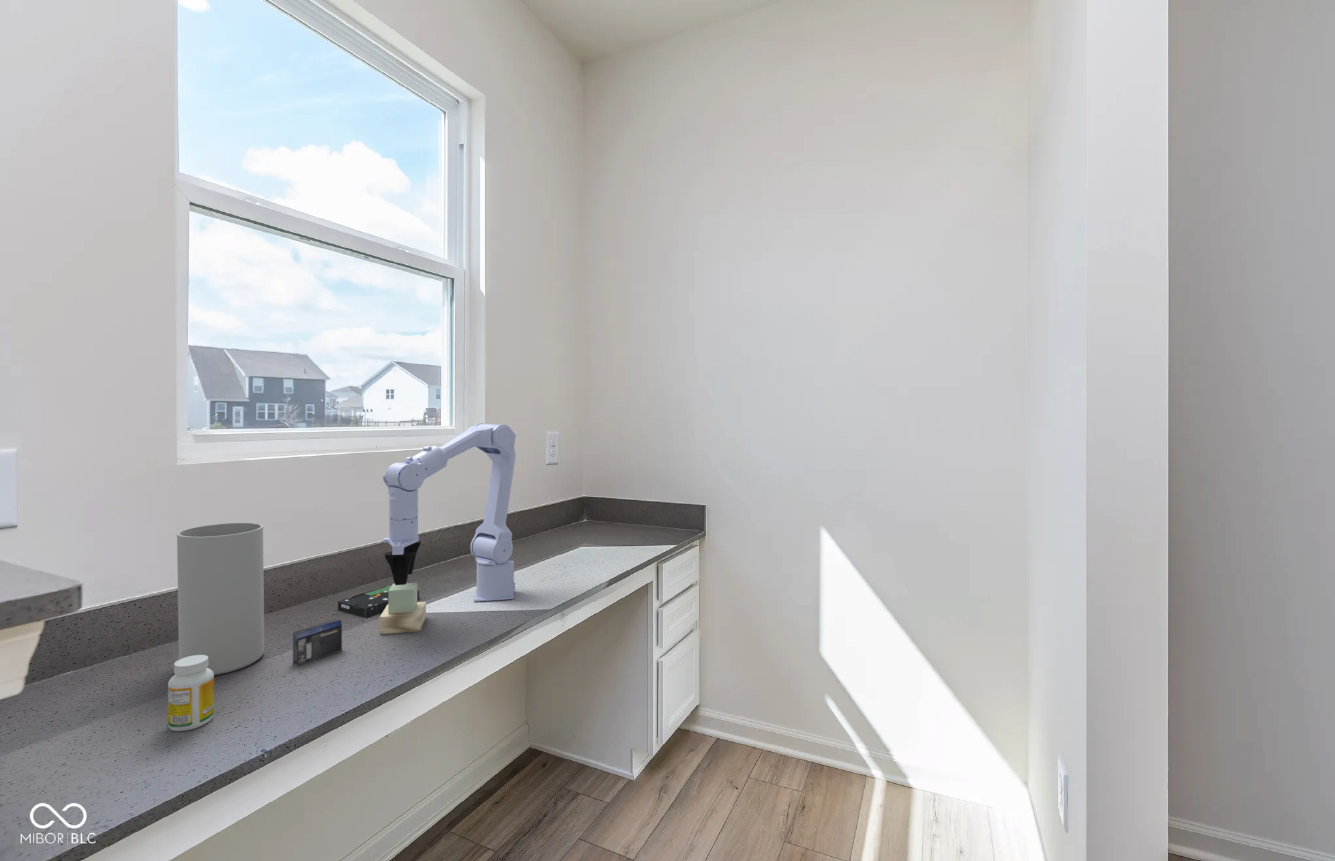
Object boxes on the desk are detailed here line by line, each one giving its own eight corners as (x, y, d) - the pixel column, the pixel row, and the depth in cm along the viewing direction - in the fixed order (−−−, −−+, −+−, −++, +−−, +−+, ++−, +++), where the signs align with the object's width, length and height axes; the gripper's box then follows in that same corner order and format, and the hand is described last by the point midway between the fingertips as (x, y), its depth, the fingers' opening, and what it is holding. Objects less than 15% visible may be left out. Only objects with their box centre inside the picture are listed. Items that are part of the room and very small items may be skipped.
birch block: (425, 618, 131) (425, 601, 130) (420, 632, 123) (420, 614, 123) (387, 621, 129) (387, 604, 128) (379, 635, 121) (379, 617, 121)
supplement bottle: (172, 736, 83) (171, 671, 82) (164, 723, 86) (163, 660, 86) (218, 721, 87) (217, 659, 87) (209, 709, 90) (208, 649, 90)
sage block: (417, 604, 129) (417, 582, 128) (413, 612, 124) (413, 589, 124) (392, 605, 127) (393, 583, 127) (388, 613, 123) (388, 590, 122)
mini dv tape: (297, 665, 106) (297, 633, 106) (293, 663, 107) (292, 632, 106) (341, 650, 113) (341, 620, 113) (337, 648, 114) (337, 618, 113)
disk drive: (366, 620, 130) (420, 600, 143) (366, 608, 130) (420, 589, 143) (336, 612, 134) (392, 593, 148) (336, 600, 134) (391, 583, 148)
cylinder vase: (162, 680, 99) (159, 538, 98) (205, 650, 111) (203, 523, 110) (243, 675, 102) (241, 536, 101) (276, 646, 114) (275, 522, 113)
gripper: (390, 512, 131) (390, 570, 131) (376, 525, 117) (376, 590, 117) (423, 511, 133) (423, 569, 133) (413, 524, 119) (413, 588, 119)
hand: (403, 579), depth 125 cm, fingers open, 7 cm apart
